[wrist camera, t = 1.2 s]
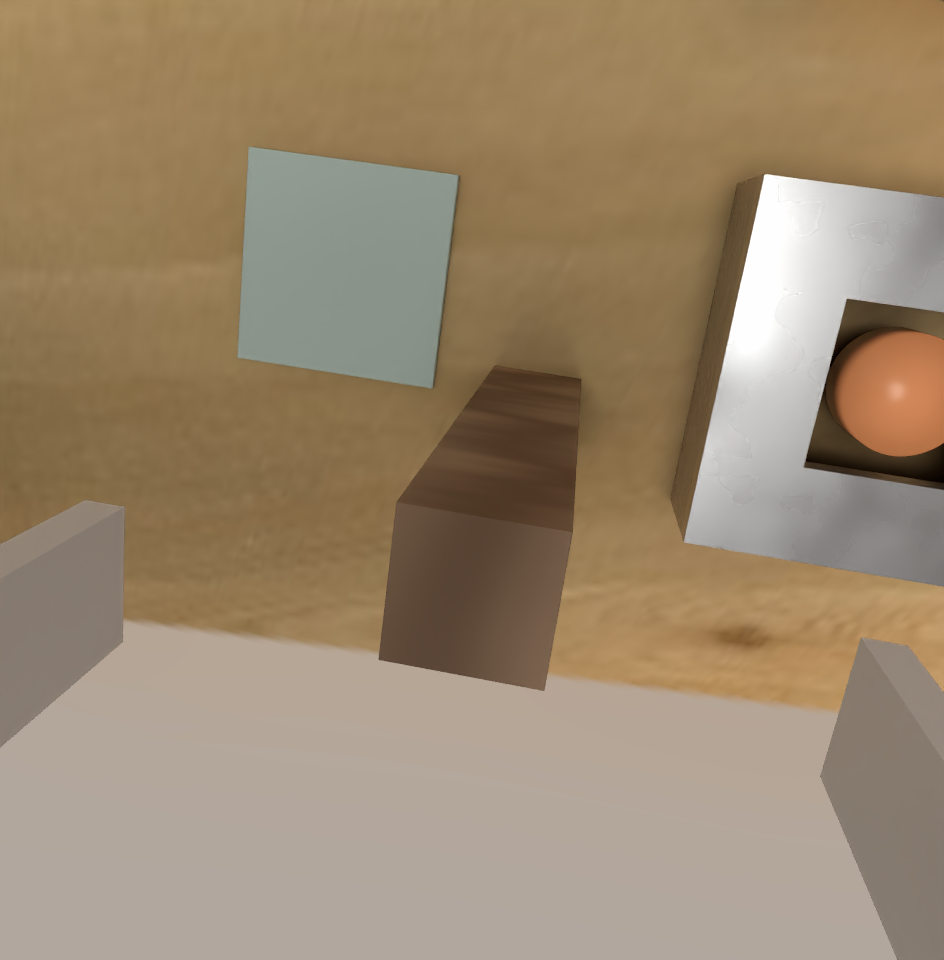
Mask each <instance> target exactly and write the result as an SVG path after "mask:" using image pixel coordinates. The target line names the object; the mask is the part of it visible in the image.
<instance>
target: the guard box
mask: <svg viewBox="0 0 944 960" xmlns="http://www.w3.org/2000/svg"><path fill="white" fill-rule="evenodd" d="M847 299H854V300H861V301H868V302H875V303H882V304H889V305H896V306H903V307H910V308H917V309H924V310H931V311H938V312H944V198H942V197H935V196H927V195H920V194H912V193H904V192H897V191H889V190H882V189H874V188H866V187H859V186H851V185H844V184H836V183H828V182H821V181H813V180H806V179H798V178H790V177H783V176H775V175H767V174H764V175H761V176H758V177H755V178H752V179H750V180H747V181H744V182H741V183H738V184H737V189H736V193H735V198H734V203H733V208H732V212H731V217H730V222H729V226H728V231H727V236H726V241H725V245H724V250H723V255H722V259H721V264H720V269H719V274H718V278H717V283H716V288H715V292H714V297H713V302H712V306H711V311H710V316H709V321H708V325H707V330H706V335H705V339H704V344H703V349H702V354H701V358H700V363H699V368H698V372H697V377H696V382H695V386H694V391H693V396H692V401H691V405H690V410H689V415H688V419H687V424H686V429H685V434H684V438H683V443H682V448H681V452H680V457H679V462H678V467H677V471H676V476H675V481H674V485H673V490H672V495H671V503H672V506H673V509H674V512H675V516H676V519H677V522H678V525H679V529H680V532H681V535H682V538H683V542H684V543H690V544H696V545H702V546H708V547H714V548H720V549H726V550H731V551H737V552H743V553H749V554H755V555H761V556H767V557H773V558H778V559H784V560H790V561H796V562H802V563H808V564H814V565H820V566H826V567H831V568H837V569H843V570H849V571H855V572H861V573H867V574H873V575H878V576H884V577H890V578H896V579H902V580H908V581H914V582H920V583H925V584H931V585H937V586H943V587H944V483H938V482H931V481H925V480H919V479H913V478H906V477H900V476H894V475H888V474H881V473H875V472H869V471H863V470H856V469H850V468H844V467H838V466H831V465H825V464H819V463H812V462H806V461H805V459H806V455H807V451H808V448H809V444H810V440H811V436H812V432H813V428H814V424H815V420H816V416H817V413H818V409H819V405H820V401H821V397H822V393H823V389H824V385H825V381H826V378H827V374H828V370H829V366H830V362H831V358H832V354H833V350H834V347H835V343H836V339H837V335H838V331H839V327H840V323H841V319H842V315H843V312H844V308H845V304H846V300H847Z"/></svg>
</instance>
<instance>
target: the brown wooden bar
mask: <svg viewBox="0 0 944 960" xmlns="http://www.w3.org/2000/svg"><path fill="white" fill-rule="evenodd" d="M580 391H581V379H577V378H570V377H564V376H557V375H551V374H545V373H538V372H532V371H525V370H519V369H512V368H506V367H499V366H495V367H494V368H493V369H492V371H491V372H490V373H489V375H488V376H487V378H486V379H485V380H484V382H483V383H482V385H481V386H480V387H479V389H478V390H477V391H476V393H475V394H474V396H473V397H472V398H471V400H470V401H469V403H468V404H467V405H466V407H465V408H464V409H463V411H462V412H461V414H460V415H459V416H458V418H457V419H456V421H455V422H454V423H453V425H452V426H451V428H450V429H449V430H448V432H447V433H446V434H445V436H444V437H443V439H442V440H441V441H440V443H439V444H438V446H437V447H436V448H435V450H434V451H433V452H432V454H431V455H430V457H429V458H428V459H427V461H426V462H425V464H424V465H423V466H422V468H421V469H420V471H419V472H418V473H417V475H416V476H415V477H414V479H413V480H412V482H411V483H410V484H409V486H408V487H407V489H406V490H405V491H404V493H403V494H402V495H401V497H400V498H399V500H398V501H397V503H396V512H395V520H394V529H393V538H392V547H391V556H390V564H389V573H388V582H387V591H386V599H385V608H384V617H383V626H382V634H381V643H380V652H379V660H384V661H388V662H393V663H399V664H404V665H409V666H415V667H420V668H425V669H431V670H437V671H441V672H447V673H452V674H458V675H463V676H468V677H474V678H479V679H484V680H489V681H495V682H500V683H505V684H511V685H516V686H521V687H527V688H532V689H538V690H543V691H544V690H545V684H546V679H547V673H548V667H549V662H550V656H551V651H552V645H553V640H554V634H555V628H556V623H557V617H558V612H559V606H560V601H561V595H562V589H563V584H564V578H565V573H566V567H567V562H568V556H569V550H570V545H571V539H572V534H573V518H574V500H575V482H576V464H577V445H578V427H579V409H580Z"/></svg>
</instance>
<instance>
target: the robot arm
mask: <svg viewBox="0 0 944 960" xmlns="http://www.w3.org/2000/svg"><path fill="white" fill-rule="evenodd" d="M124 530H125V507H123V506H117V505H112V504H106V503H101V502H95V501H89V500H84V501H82V502H80V503H78V504H76V505H74V506H73V507H71V508H69V509H67V510H65V511H63V512H61V513H59V514H57V515H55V516H53V517H51V518H49V519H47V520H46V521H44V522H42V523H40V524H38V525H36V526H34V527H32V528H30V529H28V530H26V531H24V532H22V533H20V534H19V535H17V536H15V537H13V538H11V539H9V540H7V541H5V542H3V543H1V544H0V747H1V746H2V745H3V744H5V743H6V742H7V741H8V740H9V739H10V738H11V737H13V736H14V735H15V734H16V733H17V732H19V731H20V730H21V729H22V728H23V727H24V726H26V725H27V724H28V723H29V722H30V721H31V720H33V719H34V718H35V717H36V716H37V715H38V714H40V713H41V712H42V711H43V710H44V709H45V708H46V707H48V706H49V705H50V704H51V703H52V702H53V701H55V700H56V699H57V698H58V697H59V696H60V695H61V694H63V693H64V692H65V691H66V690H67V689H69V688H70V687H71V686H72V685H73V684H74V683H75V682H77V681H78V680H79V679H80V678H81V677H82V676H84V675H85V674H86V673H87V672H88V671H89V670H91V669H92V668H93V667H94V666H95V665H96V664H97V663H99V662H100V661H101V660H102V659H103V658H104V657H106V656H107V655H108V654H109V653H110V652H111V651H113V650H114V649H115V648H116V647H117V646H118V645H119V644H121V643H122V642H123V593H124ZM820 777H821V779H822V781H823V784H824V786H825V788H826V791H827V794H828V796H829V798H830V800H831V803H832V805H833V808H834V810H835V812H836V815H837V817H838V820H839V822H840V824H841V827H842V829H843V832H844V834H845V836H846V839H847V841H848V843H849V846H850V848H851V850H852V853H853V855H854V858H855V860H856V863H857V865H858V867H859V870H860V872H861V874H862V877H863V879H864V882H865V884H866V886H867V889H868V891H869V893H870V896H871V898H872V901H873V903H874V905H875V908H876V910H877V912H878V915H879V917H880V920H881V922H882V924H883V927H884V929H885V931H886V934H887V936H888V939H889V941H890V943H891V946H892V948H893V951H894V953H895V955H896V958H897V960H944V692H943V691H942V689H941V688H940V687H939V686H938V684H937V683H936V682H935V680H934V679H933V678H932V676H931V675H930V674H929V673H928V671H927V670H926V669H925V667H924V666H923V665H922V663H921V662H920V661H919V660H918V658H917V657H916V656H915V654H914V653H913V652H912V650H911V649H910V648H909V647H908V646H906V645H901V644H895V643H890V642H884V641H878V640H873V639H867V638H861V640H860V643H859V646H858V650H857V653H856V657H855V660H854V663H853V667H852V670H851V674H850V677H849V680H848V684H847V687H846V691H845V694H844V697H843V701H842V704H841V708H840V711H839V714H838V718H837V722H836V725H835V728H834V732H833V735H832V738H831V742H830V745H829V748H828V752H827V755H826V759H825V762H824V765H823V769H822V772H821V776H820Z"/></svg>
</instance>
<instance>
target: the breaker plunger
mask: <svg viewBox="0 0 944 960" xmlns="http://www.w3.org/2000/svg"><path fill="white" fill-rule="evenodd" d="M826 399H827V403H828V407H829V409H830V412H831V414H832V416H833V417H834V419H835V420H836V422H837V423H838V424H839V425H840V426H841V427H842V428H843V429H844V430H845V431H847V432H848V433H849V434H851V435H852V436H853V437H854V438H856V439H857V440H858V441H860V442H861V443H862V444H864V445H865V446H867V447H868V448H870V449H872V450H874V451H876V452H879V453H882V454H886V455H890V456H911V455H917V454H921V453H924V452H927V451H930V450H932V449H934V448H936V447H938V446H940V445H941V444H943V443H944V340H943V339H941V338H938V337H935V336H932V335H929V334H925V333H922V332H919V331H915V330H912V329H907V328H902V327H886V328H880V329H876V330H872V331H870V332H867V333H865V334H863V335H861V336H859V337H857V338H856V339H854V340H853V341H852V342H850V343H849V344H848V345H847V346H846V347H845V348H844V349H843V350H842V351H841V352H840V353H839V355H838V356H837V357H836V359H835V361H834V362H833V364H832V366H831V368H830V371H829V374H828V377H827V383H826Z"/></svg>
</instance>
